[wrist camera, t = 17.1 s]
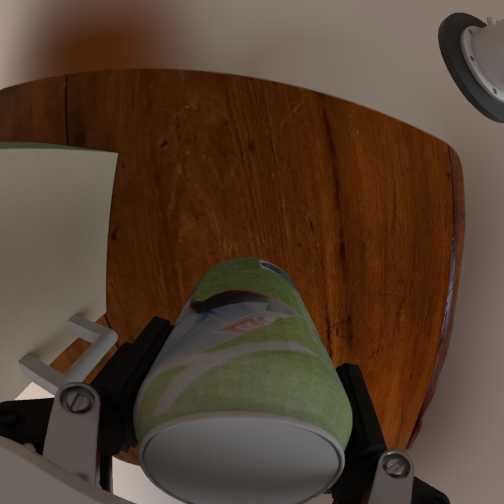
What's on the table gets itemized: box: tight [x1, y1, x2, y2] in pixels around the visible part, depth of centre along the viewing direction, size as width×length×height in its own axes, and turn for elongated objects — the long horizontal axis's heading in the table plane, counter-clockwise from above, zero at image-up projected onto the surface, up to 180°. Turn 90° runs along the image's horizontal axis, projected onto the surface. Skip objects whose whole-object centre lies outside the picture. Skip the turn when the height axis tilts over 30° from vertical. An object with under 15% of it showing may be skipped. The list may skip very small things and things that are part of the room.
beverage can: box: [133, 257, 352, 504], centre depth 10 cm, size 6×7×12 cm
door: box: [0, 149, 118, 403], centre depth 19 cm, size 7×20×24 cm, turn 168°
